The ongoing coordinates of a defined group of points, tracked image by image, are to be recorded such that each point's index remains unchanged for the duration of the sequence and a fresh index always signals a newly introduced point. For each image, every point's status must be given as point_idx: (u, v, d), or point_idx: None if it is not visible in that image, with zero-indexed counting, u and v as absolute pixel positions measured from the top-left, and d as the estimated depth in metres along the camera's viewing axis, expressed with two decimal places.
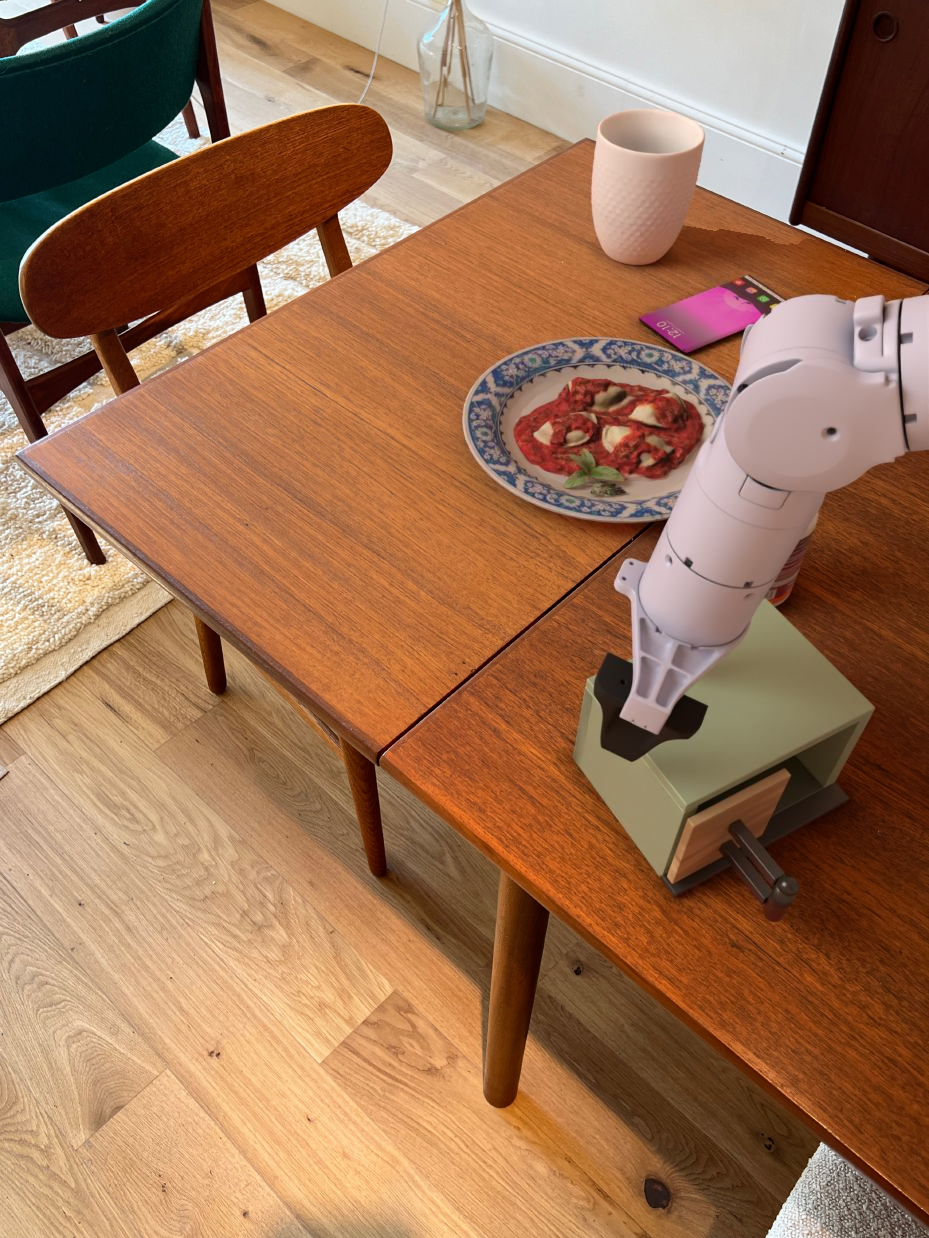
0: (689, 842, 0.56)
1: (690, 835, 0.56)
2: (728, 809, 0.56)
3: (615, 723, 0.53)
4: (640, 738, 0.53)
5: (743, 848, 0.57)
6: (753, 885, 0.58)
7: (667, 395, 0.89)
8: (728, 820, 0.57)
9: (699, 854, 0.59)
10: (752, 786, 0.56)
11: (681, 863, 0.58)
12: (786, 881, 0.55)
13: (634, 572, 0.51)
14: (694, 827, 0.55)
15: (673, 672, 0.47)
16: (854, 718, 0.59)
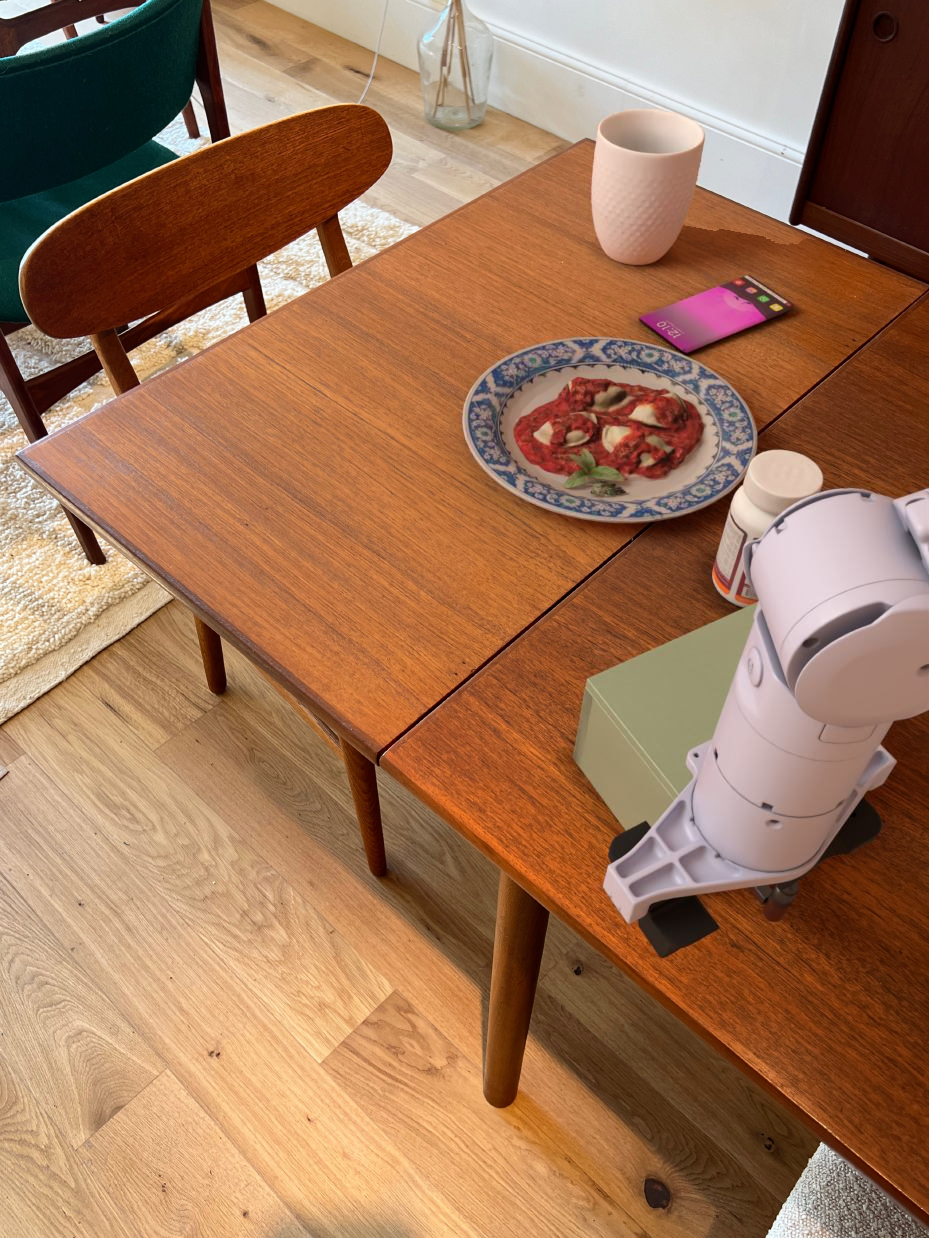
0: None
1: None
2: None
3: None
4: None
5: None
6: None
7: (667, 395, 0.89)
8: None
9: None
10: None
11: None
12: None
13: None
14: None
15: (675, 869, 0.42)
16: None
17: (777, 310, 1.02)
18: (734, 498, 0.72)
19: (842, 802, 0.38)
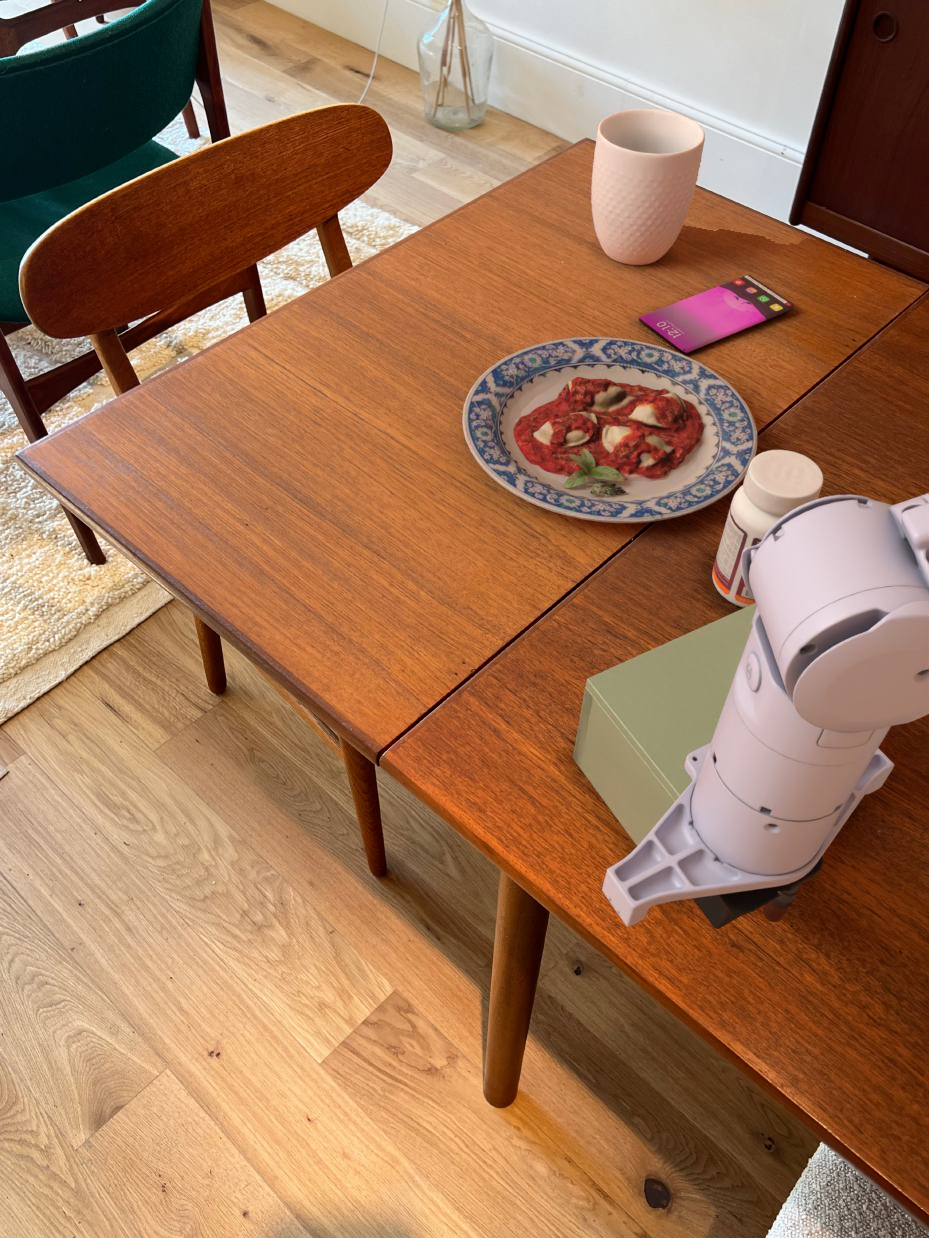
0: None
1: None
2: None
3: None
4: (719, 903, 0.48)
5: None
6: None
7: (667, 395, 0.89)
8: None
9: None
10: None
11: None
12: None
13: None
14: None
15: (674, 872, 0.42)
16: None
17: (777, 310, 1.02)
18: (734, 498, 0.72)
19: (840, 806, 0.39)
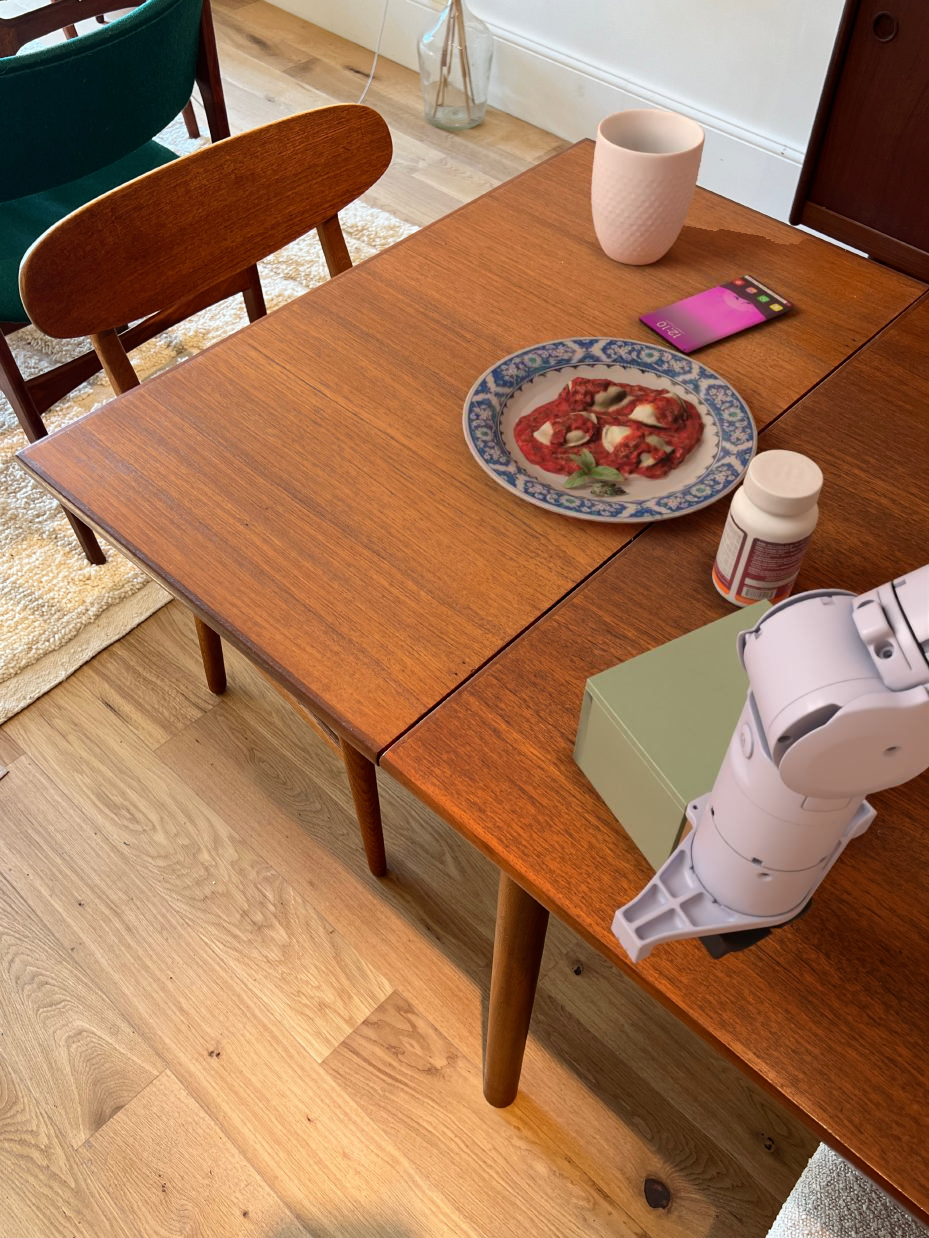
0: None
1: None
2: None
3: None
4: (718, 937, 0.52)
5: None
6: None
7: (667, 395, 0.89)
8: None
9: None
10: None
11: None
12: None
13: None
14: None
15: (676, 913, 0.46)
16: None
17: (777, 310, 1.02)
18: (734, 498, 0.72)
19: (825, 857, 0.43)
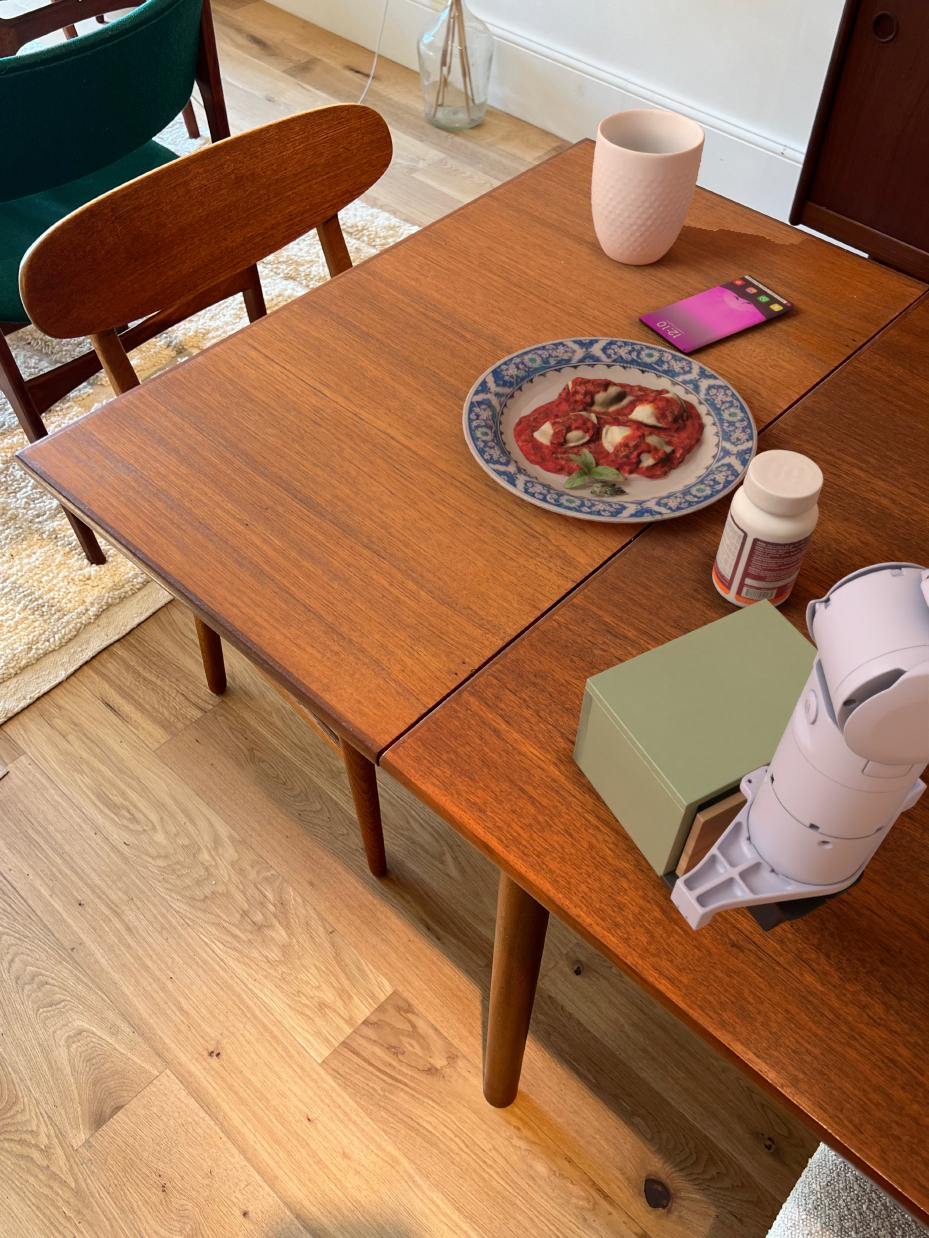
0: (698, 837, 0.56)
1: (699, 830, 0.56)
2: (737, 804, 0.56)
3: None
4: (770, 908, 0.54)
5: None
6: None
7: (667, 395, 0.89)
8: None
9: (708, 849, 0.59)
10: None
11: (690, 858, 0.58)
12: None
13: None
14: (704, 822, 0.55)
15: (735, 882, 0.48)
16: None
17: (777, 310, 1.02)
18: (734, 498, 0.72)
19: (884, 825, 0.44)
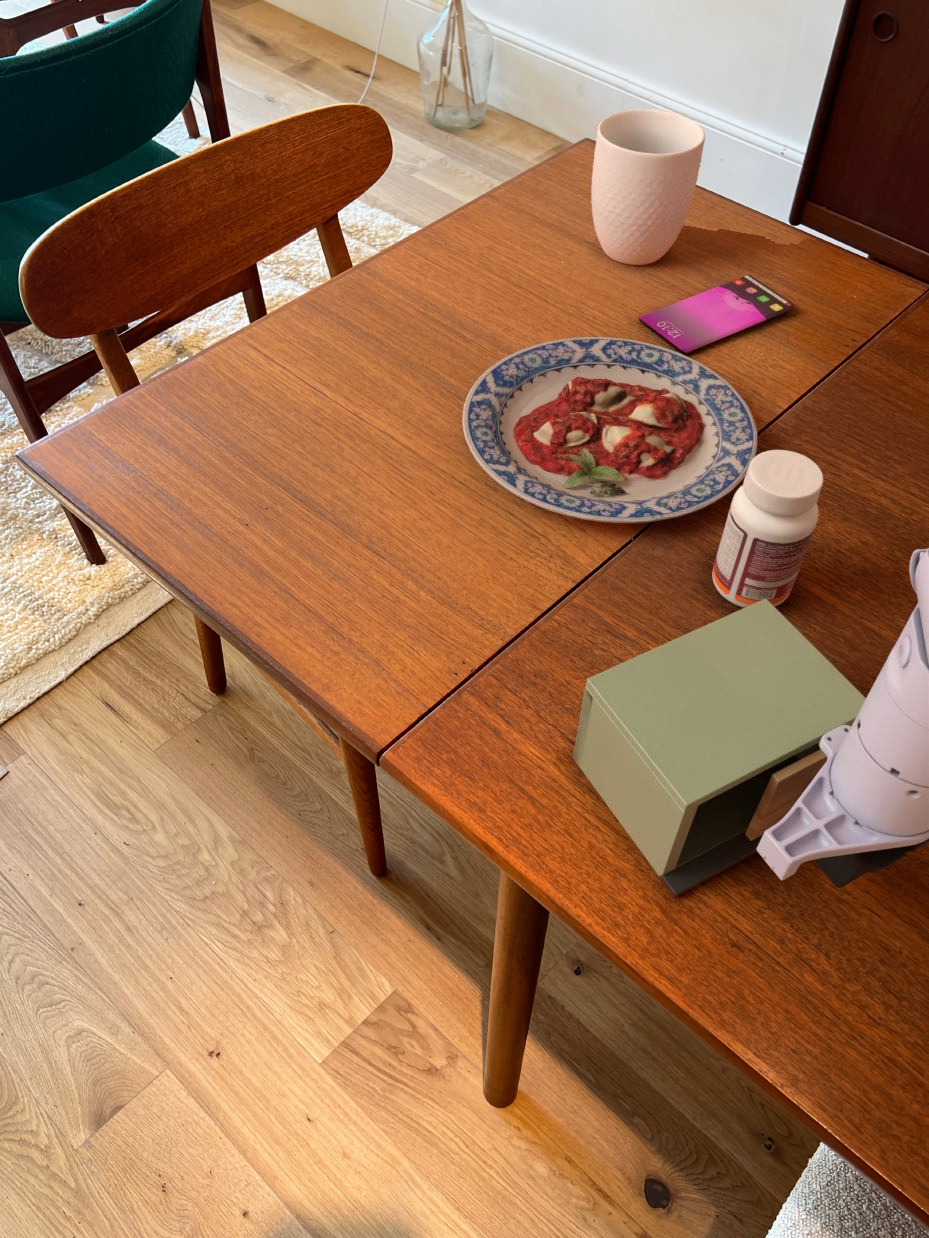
0: (772, 798, 0.58)
1: (774, 790, 0.57)
2: (811, 766, 0.58)
3: None
4: (845, 864, 0.55)
5: None
6: None
7: (667, 395, 0.89)
8: (809, 777, 0.59)
9: (778, 811, 0.61)
10: None
11: (762, 819, 0.60)
12: None
13: (843, 738, 0.53)
14: (779, 782, 0.57)
15: (821, 833, 0.49)
16: (854, 718, 0.59)
17: (777, 310, 1.02)
18: (734, 498, 0.72)
19: None
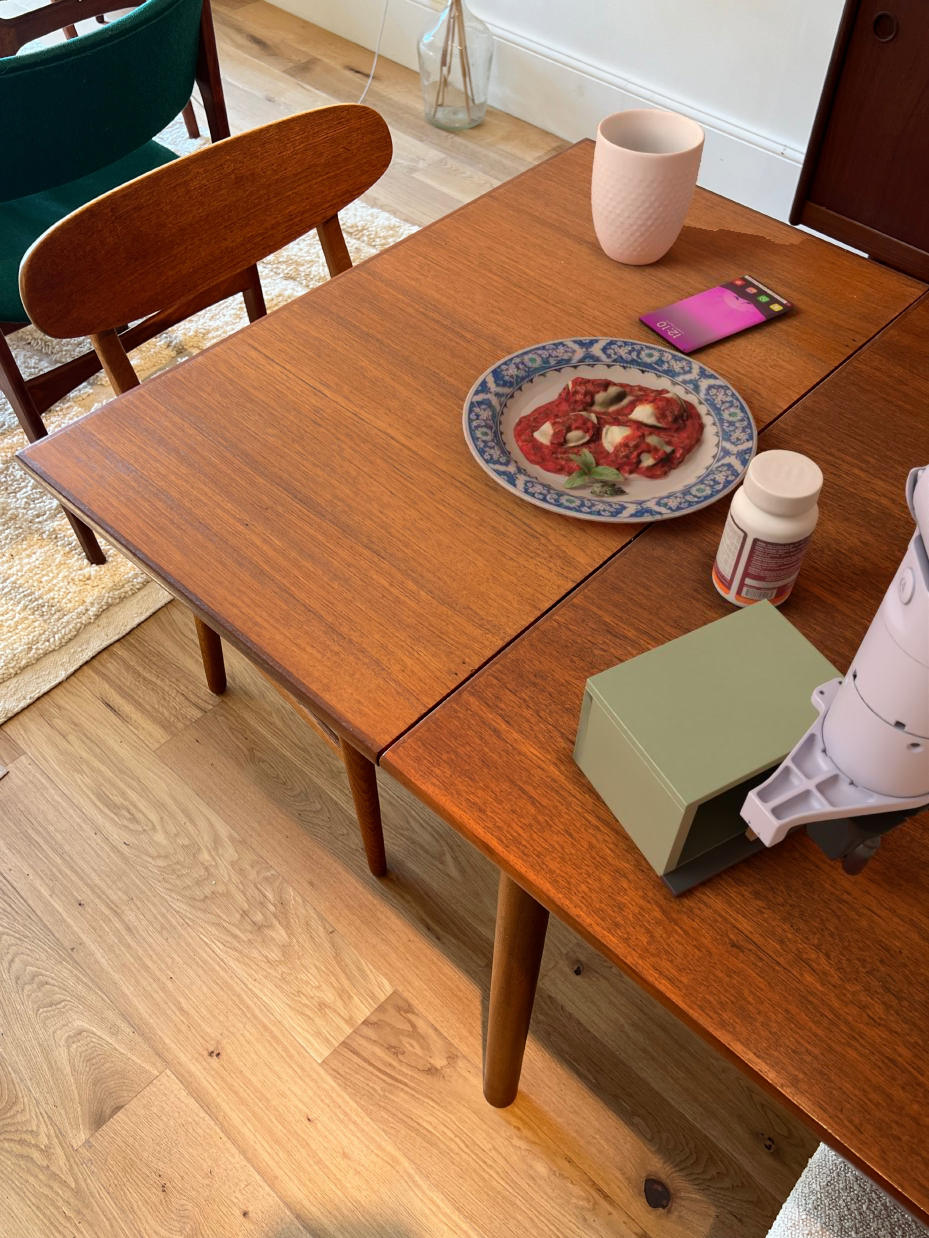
0: None
1: None
2: None
3: None
4: (839, 833, 0.50)
5: None
6: None
7: (667, 395, 0.89)
8: None
9: None
10: None
11: None
12: None
13: (838, 691, 0.48)
14: None
15: (812, 795, 0.44)
16: None
17: (777, 310, 1.02)
18: (734, 498, 0.72)
19: None
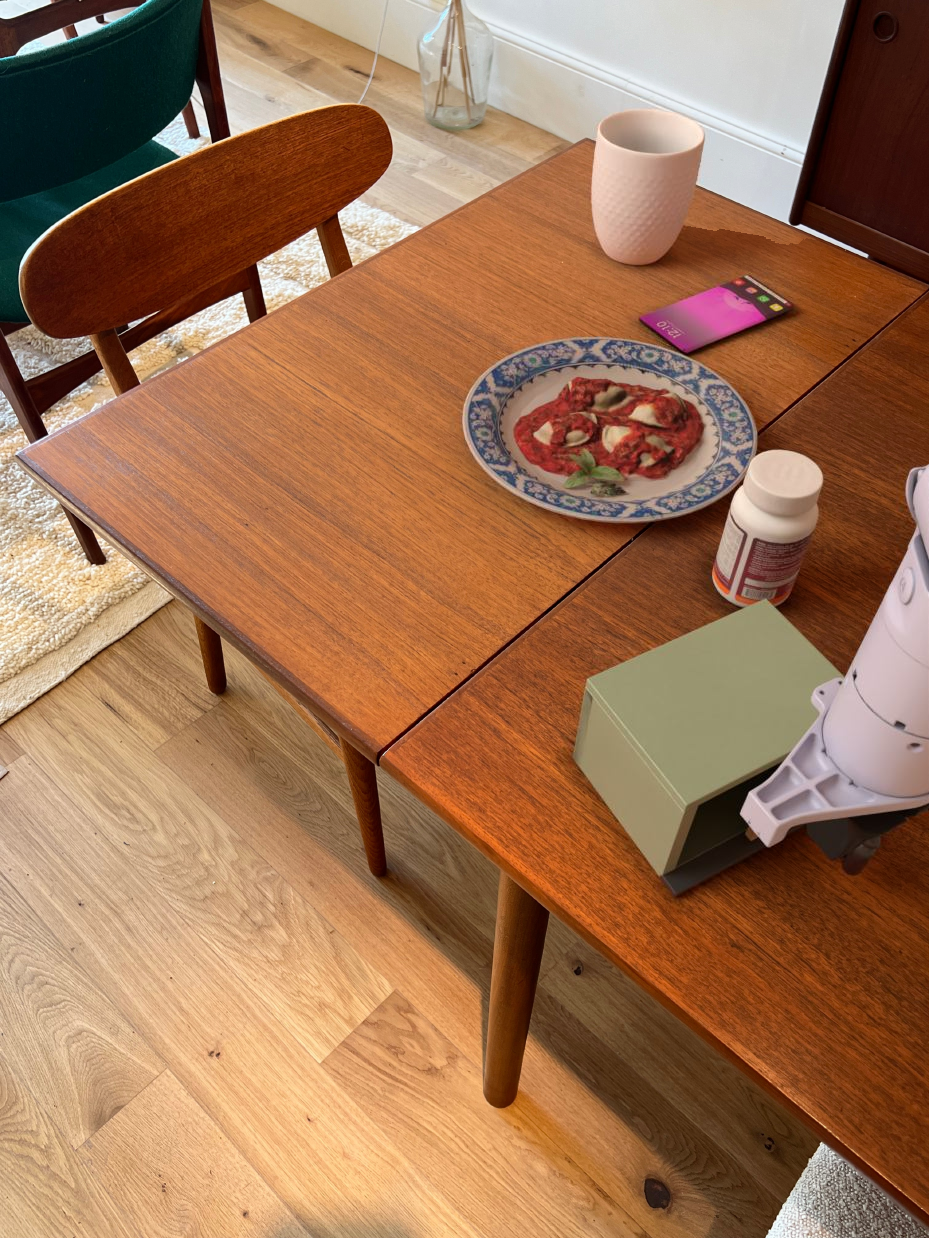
0: None
1: None
2: None
3: None
4: (839, 833, 0.50)
5: None
6: None
7: (667, 395, 0.89)
8: None
9: None
10: None
11: None
12: None
13: (838, 691, 0.48)
14: None
15: (812, 795, 0.44)
16: None
17: (777, 310, 1.02)
18: (734, 498, 0.72)
19: None
